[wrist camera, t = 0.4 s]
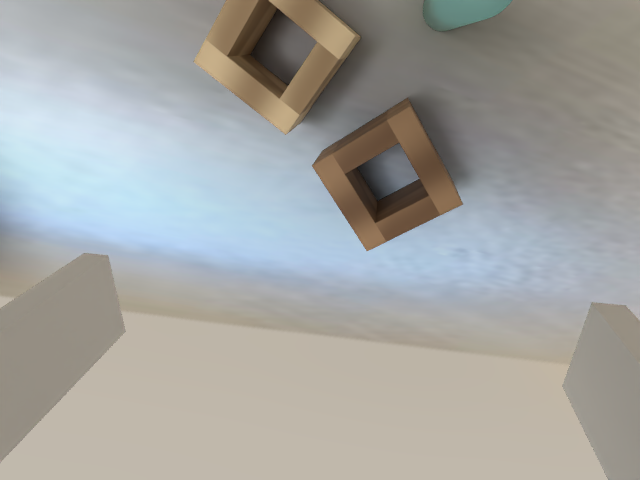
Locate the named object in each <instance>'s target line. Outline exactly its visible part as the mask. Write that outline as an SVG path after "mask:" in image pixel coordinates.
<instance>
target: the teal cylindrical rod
mask: <svg viewBox="0 0 640 480" xmlns="http://www.w3.org/2000/svg"><path fill="white" fill-rule="evenodd" d="M511 2H512V0H425V1H424V5H423V16H424V19H425V21H426V23H427V24H428V25H429V26H430V27H431V28H432V29H434V30H437V31H447V30H451V29H454V28H458V27H461V26H464V25H468V24H471V23H475V22H478V21H481V20H485V19H488V18H491V17H493V16H495V15H497V14H499V13H500V12H501V11H503V10H504V9H505V8H506V7H507V6H508V5H509V4H510V3H511Z"/></svg>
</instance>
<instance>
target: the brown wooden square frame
mask: <svg viewBox="0 0 640 480" xmlns="http://www.w3.org/2000/svg"><path fill="white" fill-rule="evenodd" d="M398 143H400V145H401V146H402V148H403V150H404V152H405V154H406V155H407V157H408V159H409V161H410V162H411V164H412V166H413V168H414V170H415V171H416V173H417V175H418V177H419V178H420V179H418V180H417V181H415V182H413V183H411V184H409V185H407V186H405V187H403V188H402V189H400V190H398V191H396V192H394V193H392V194H390V195H388V196H387V197H385V198H383V199H381V200H379V201H377V199H376V198H375V196H374V194H373V193H372V191H371V190H370V188H369V186H368V185H367V183H366V181H365V180H364V178H363V176H362V175H361V173H360V171H359V170H358V168H357V167H358V166H360V165H361V164H363V163H365V162H367V161H368V160H370V159H372V158H373V157H375V156H377V155H379V154H380V153H382V152H384V151H386V150H387V149H389V148H391V147H392V146H394V145H396V144H398ZM312 167H313V168H314V170H315V171H316V173H317V174H318V176H319V177H320V179H321V181H322V182H323V184H324V185H325V187H326V188H327V190H328V191H329V193H330V195H331V196H332V198H333V199H334V201H335V202H336V204H337V205H338V207H339V209H340V210H341V212H342V213H343V215H344V216H345V218H346V219H347V221H348V223H349V224H350V226H351V227H352V229H353V230H354V232H355V233H356V235H357V236H358V238H359V240H360V241H361V243H362V244H363V246H364V247H365V249H366V250H367V251H369V250H371V249H373V248H375V247H377V246H379V245H381V244H383V243H385V242H387V241H389V240H391V239H393V238H395V237H397V236H399V235H401V234H403V233H405V232H407V231H409V230H411V229H413V228H415V227H417V226H419V225H421V224H423V223H425V222H427V221H430V220H432V219H434V218H436V217H438V216H440V215H442V214H444V213H446V212H448V211H450V210H452V209H454V208H456V207H458V206H460V205H463V203H462V201H461V199H460V196H459V194H458V192H457V190H456V187H455V185H454V183H453V181H452V179H451V177H450V175H449V173H448V172H447V170H446V168H445V166H444V164H443V162H442V160H441V159H440V157H439V155H438V153H437V151H436V149H435V147H434V146H433V144H432V142H431V140H430V138H429V136H428V134H427V133H426V131H425V129H424V127H423V125H422V123H421V121H420V119H419V118H418V116H417V114H416V112H415V110H414V108H413V106H412V105H411V103H410V101H409V99H408V98H407V99H405V100H403V101H402V102H400V103H398V104H397V105H395V106H394V107H392V108H390V109H389V110H387V111H386V112H384V113H383V114H381V115H379V116H378V117H376V118H375V119H373V120H371V121H370V122H368V123H366V124H365V125H363V126H362V127H360V128H358V129H357V130H355V131H354V132H352V133H350V134H349V135H347V136H345V137H344V138H342V139H341V140H339V141H337V142H335V143H334V144H332V145H331V146H329V147H327V148H326V149H324V150H323V151H322V152H321V154H320V155H319V156H318V158H317V159H316V161H315V162H314V164H313V165H312Z"/></svg>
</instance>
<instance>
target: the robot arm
mask: <svg viewBox="0 0 640 480" xmlns="http://www.w3.org/2000/svg"><path fill="white" fill-rule="evenodd" d="M124 333H125V327H124V322H123V318H122V314H121V309H120V305H119V301H118V296H117V292H116V288H115V283H114V279H113V275H112V270H111V266H110V262H109V258H108V255H99V254H89V253H84V254H82V255H81V256H79V257H78V258H76V259H75V260H73V261H72V262H70V263H69V264H67V265H66V266H64V267H62V268H61V269H59V270H58V271H56V272H55V273H53V274H52V275H50V276H49V277H47V278H46V279H44V280H43V281H41V282H40V283H38V284H37V285H35V286H33V287H32V288H30V289H29V290H27V291H26V292H24V293H23V294H21V295H20V296H18V297H17V298H15V299H14V300H12V301H11V302H9V303H8V304H6V305H5V306H3V307H1V308H0V462H1V461H2V460H3V459H4V458H5V457H6V456H7V455H8V454H9V453H10V452H11V451H12V450H13V449H14V448H15V447H16V446H17V444H18V443H19V442H20V441H21V440H22V439H23V438H24V437H25V436H26V435H27V434H28V433H29V432H30V431H31V430H32V429H33V428H34V427H35V426H36V425H37V423H38V422H39V421H40V420H41V419H42V418H43V417H44V416H45V415H46V414H47V413H48V412H49V411H50V410H51V409H52V408H53V407H54V406H55V405H56V404H57V403H58V402H59V401H60V400H61V398H62V397H63V396H64V395H65V394H66V393H67V392H68V391H69V390H70V389H71V388H72V387H73V386H74V385H75V384H76V383H77V382H78V381H79V380H80V379H81V378H82V377H83V376H84V374H85V373H86V372H87V371H88V370H89V369H90V368H91V367H92V366H93V365H94V364H95V363H96V362H97V361H98V360H99V359H100V358H101V357H102V355H104V353H106V351H107V350H108V349H109V348H110V347H111V346H112V345H113V344H114V343H115V342H116V341H117V340H118V339H119V338H120V337H121V336H122V335H123V334H124ZM563 389H564V391H565V393H566V395H567V397H568V399H569V401H570V403H571V405H572V407H573V409H574V411H575V413H576V415H577V417H578V419H579V421H580V423H581V425H582V427H583V429H584V432H585V434H586V436H587V438H588V440H589V442H590V444H591V446H592V447H593V450H594V452H595V454H596V456H597V458H598V460H599V462H600V464H601V466H602V468H603V470H604V472H605V474H606V476H607V478H608V480H640V321H639V320H638V319H637V318H636V317H635V315H634V314H633V313H632V312H631V311H630V310H629V309H628V308H627V306H624V305H614V304H604V303H594V302H592V303H591V306H590V309H589V312H588V315H587V318H586V320H585V323H584V326H583V329H582V332H581V335H580V337H579V340H578V343H577V346H576V349H575V352H574V354H573V357H572V360H571V363H570V366H569V369H568V372H567V375H566V377H565V380H564V383H563Z"/></svg>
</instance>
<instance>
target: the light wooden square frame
mask: <svg viewBox="0 0 640 480" xmlns="http://www.w3.org/2000/svg"><path fill="white" fill-rule="evenodd" d="M277 9H279V10H280V11H282V12H283V13H284V14H285V15H286V16H288V17H289V18H290V19H291V20H292V21H293V22H295V23H296V24H297V25H298V26H299V27H301V28H302V29H303V30H304V31H305V32H306V33H308V34H309V35H310V36H311V37H312V38H314V39H315V40H316V41H317V43H316V45H315V46H314V48H313V49H312V51H311V52H310V54H309V55H308V57H307V58H306V60H305V61H304V63H303V64H302V66H301V67H300V69H299V70H298V72H297V73H296V75H295V76H294V78H293V79H292V81H291V82H290V84H289V85H288V86H287V85H286V84H285V83H284V82H283V81H281V80H280V79H279V78H278V77H276V76H275V75H274V74H273V73H271V72H270V71H269V70H268V69H267V68H265V67H264V66H263V65H262V64H260V63H259V62H258V61H257V60H256V59H254V58H253V57H252V56H251V55H250V54H251V52H252V51H253V49H254V47H255V46H256V44H257V42H258V41H259V39H260V37H261V36H262V34H263V32H264V30H265V29H266V27H267V25H268V24H269V22H270V20H271V19H272V17H273V15H274V14H275V12H276V10H277ZM360 38H361V37H360V36H359V35H358V34H357V33H356V32H355V31H353V30H352V29H351V28H350V27H349V26H348V25H346V24H345V23H344V22H343V21H342V20H341V19H339V18H338V17H337V16H336V15H335V14H334V13H332V12H331V11H330V10H329V9H328V8H327V7H326V6H324V5H323V4H322V3H321V2H320V1H319V0H226V2H225V4H224V5H223V7H222V9H221V11H220V13H219V15H218V17H217V19H216V21H215V22H214V24H213V26H212V28H211V30H210V32H209V34H208V36H207V38H206V39H205V41H204V43H203V45H202V47H201V48H200V50H199V52H198V54H197V56H196V58H195V60H194V62H195V63H196V64H197V65H198V66H200V67H201V68H202V69H203V70H205V71H206V72H207V73H208V74H210V75H211V76H212V77H213V78H215V79H216V80H217V81H219V82H220V83H221V84H222V85H224V86H225V87H226V88H227V89H229V90H230V91H231V92H232V93H234V94H235V95H236V96H237V97H239V98H240V99H241V100H243V101H244V102H245V103H246V104H248V105H249V106H250V107H251V108H253V109H254V110H255V111H256V112H258V113H259V114H260V115H261V116H263V117H264V118H265V119H267V120H268V121H269V122H270V123H272V124H273V125H274V126H275V127H277V128H278V129H279V130H280V131H282V132H283V133H284V134H285V135H286V134H287V133H289V132H290V131H291V130H292V129H294V128H295V127H296V126H297V125H298V124H300V123H301V121H302V120H303V118H304V117H305V116H306V114H307V113H308V111H309V110H310V109H311V107H312V105H313V104H314V103H315V101H316V100H317V98H318V97H319V96H320V94H321V93H322V91H323V90H324V89H325V87H326V86H327V84H328V83H329V82H330V80H331V79H332V77H333V76H334V75H335V73H336V72H337V70H338V69H339V68H340V66H341V65H342V63H343V62H344V60H345V59H346V58H347V57H348V55H349V54H350V52H351V51H352V50H353V48H354V47H355V45H356V44H357V42H358V41H359V40H360Z"/></svg>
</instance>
